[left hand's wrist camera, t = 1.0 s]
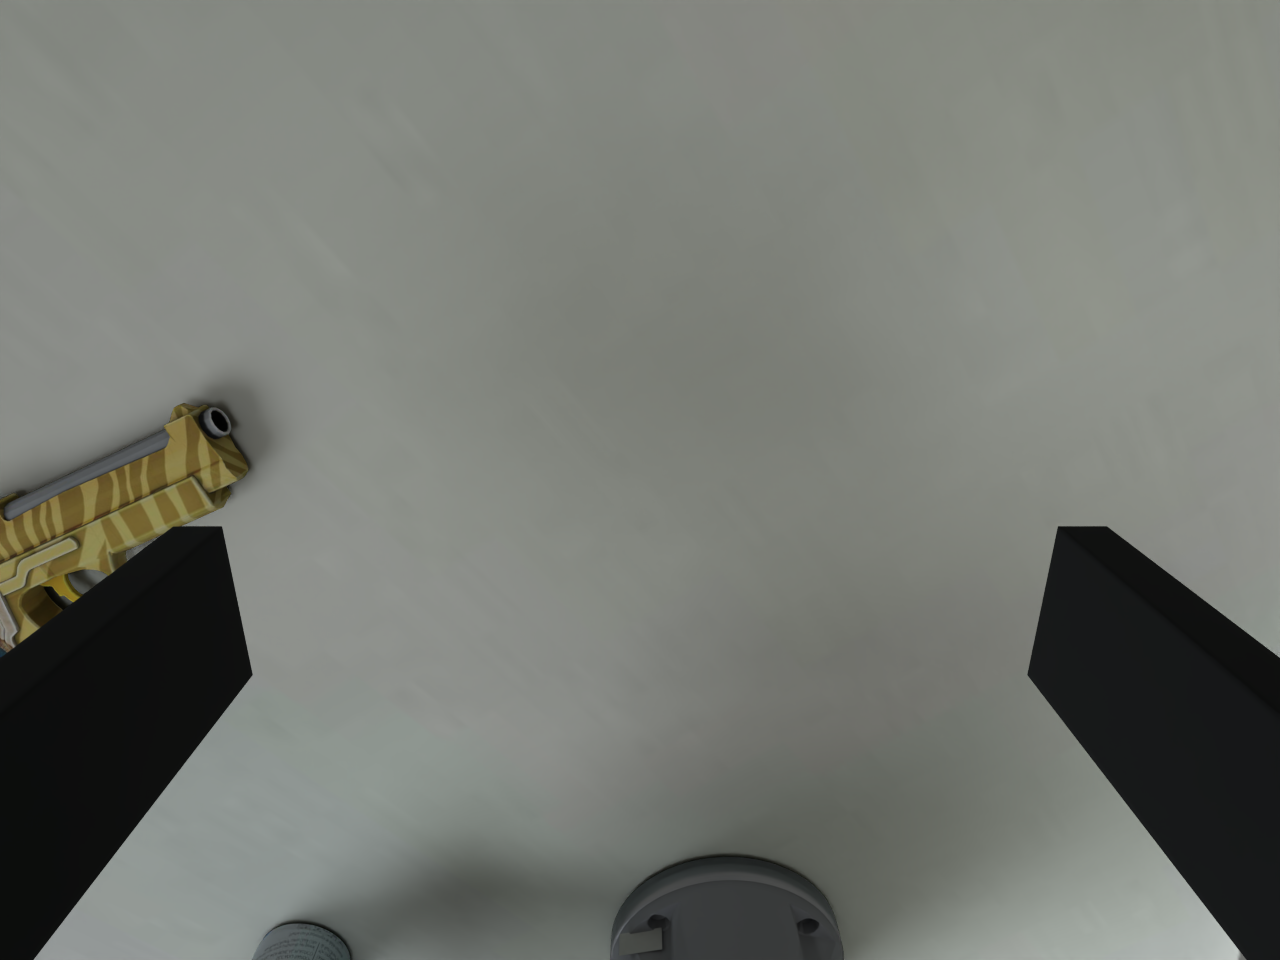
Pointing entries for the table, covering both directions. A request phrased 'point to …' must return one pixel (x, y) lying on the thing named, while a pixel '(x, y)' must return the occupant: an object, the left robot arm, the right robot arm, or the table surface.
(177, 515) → the handgun
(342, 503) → the table surface
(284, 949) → the spray paint can
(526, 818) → the table surface
